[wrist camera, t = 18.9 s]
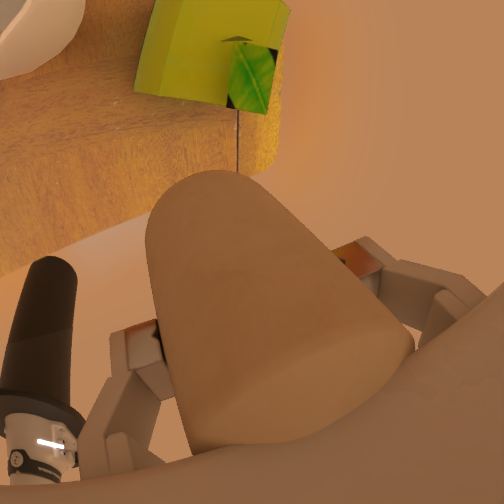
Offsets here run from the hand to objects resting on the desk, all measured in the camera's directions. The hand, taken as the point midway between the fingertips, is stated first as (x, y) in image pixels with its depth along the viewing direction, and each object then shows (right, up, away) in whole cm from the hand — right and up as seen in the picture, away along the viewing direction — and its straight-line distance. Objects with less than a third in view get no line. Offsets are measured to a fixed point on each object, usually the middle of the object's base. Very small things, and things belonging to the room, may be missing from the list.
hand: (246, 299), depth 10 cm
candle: (-1, +2, +3) cm, 4 cm away
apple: (-6, +22, +18) cm, 29 cm away
